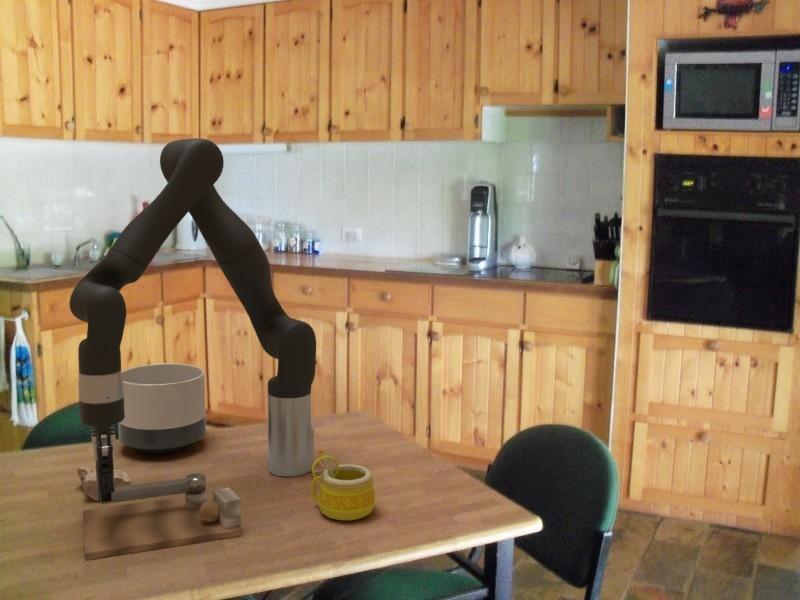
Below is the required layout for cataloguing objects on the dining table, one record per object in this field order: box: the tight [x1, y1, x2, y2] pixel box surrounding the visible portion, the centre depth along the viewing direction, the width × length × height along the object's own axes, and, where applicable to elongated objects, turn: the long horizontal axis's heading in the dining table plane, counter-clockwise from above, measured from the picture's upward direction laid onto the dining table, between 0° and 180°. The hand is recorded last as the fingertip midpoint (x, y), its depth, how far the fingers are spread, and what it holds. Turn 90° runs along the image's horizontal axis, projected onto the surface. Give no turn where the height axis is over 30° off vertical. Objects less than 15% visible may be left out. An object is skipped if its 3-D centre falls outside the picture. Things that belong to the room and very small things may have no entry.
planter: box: [118, 362, 207, 455], centre depth 186 cm, size 19×19×18 cm
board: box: [82, 487, 243, 561], centre depth 147 cm, size 26×18×6 cm
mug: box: [310, 448, 376, 522], centre depth 154 cm, size 13×11×12 cm
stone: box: [77, 466, 132, 502], centre depth 163 cm, size 9×11×5 cm
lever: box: [95, 460, 207, 505], centre depth 149 cm, size 19×4×8 cm, turn 112°
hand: (105, 487), depth 146 cm, fingers closed on lever, 3 cm apart
